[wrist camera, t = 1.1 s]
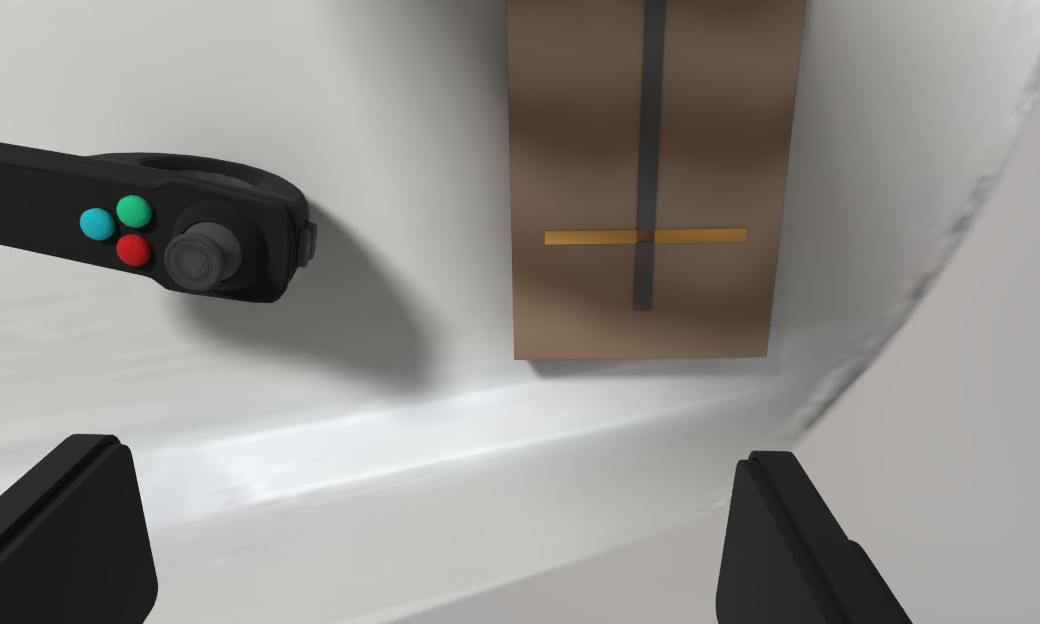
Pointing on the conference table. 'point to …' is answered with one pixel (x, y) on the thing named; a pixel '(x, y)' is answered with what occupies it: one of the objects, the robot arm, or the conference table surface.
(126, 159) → the controller
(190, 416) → the conference table surface
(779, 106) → the fader console
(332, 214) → the conference table surface
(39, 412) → the conference table surface
